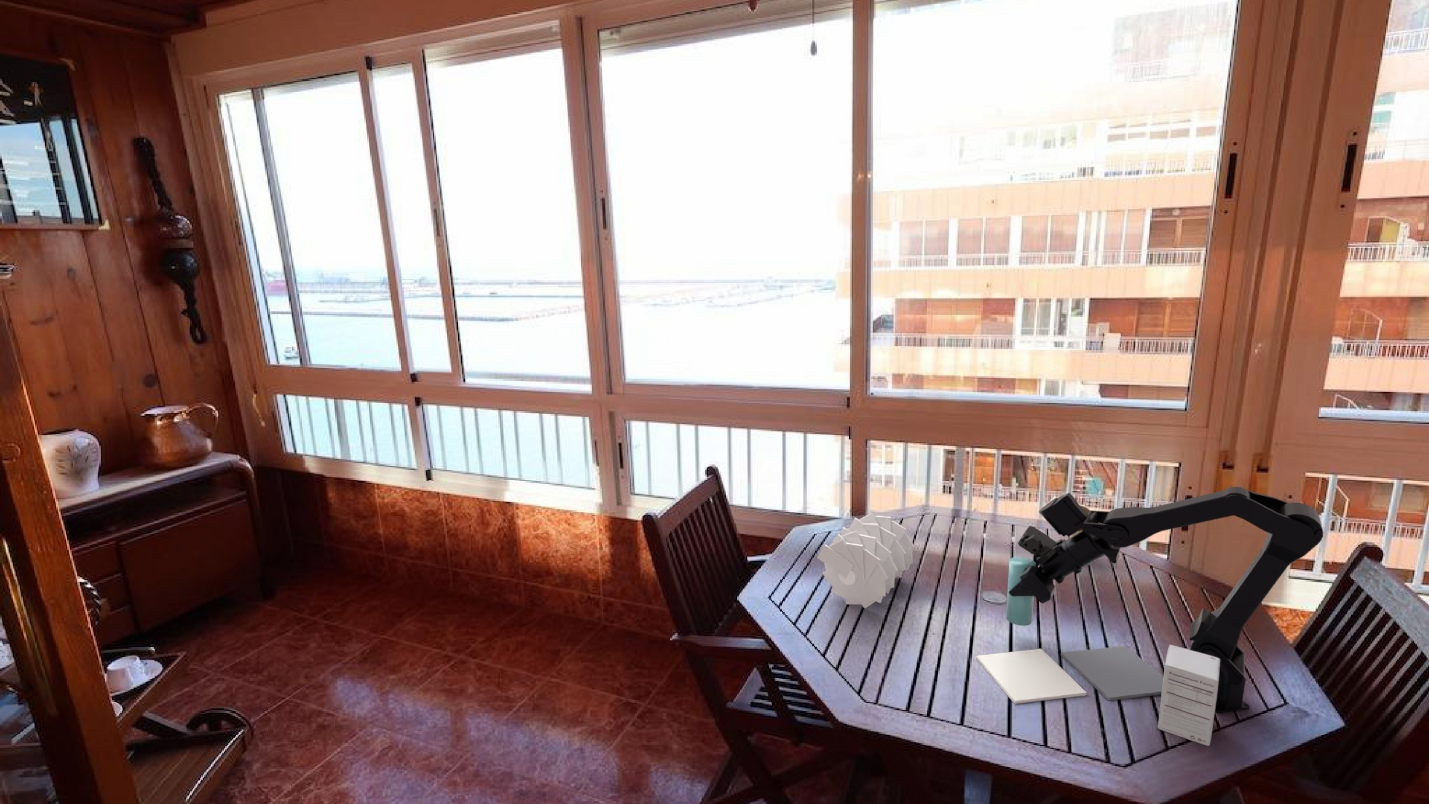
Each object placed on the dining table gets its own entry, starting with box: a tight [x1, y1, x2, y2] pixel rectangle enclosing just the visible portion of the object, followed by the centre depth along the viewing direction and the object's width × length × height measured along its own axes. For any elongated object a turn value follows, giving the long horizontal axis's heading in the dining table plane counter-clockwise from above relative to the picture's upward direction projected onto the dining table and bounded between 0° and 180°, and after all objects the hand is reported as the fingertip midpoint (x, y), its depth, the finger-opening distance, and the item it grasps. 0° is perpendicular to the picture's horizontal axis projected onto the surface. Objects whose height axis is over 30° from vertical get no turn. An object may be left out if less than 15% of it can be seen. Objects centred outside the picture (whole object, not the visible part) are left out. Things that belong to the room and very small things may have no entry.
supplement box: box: [1157, 644, 1220, 747], centre depth 112 cm, size 7×7×13 cm
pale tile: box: [975, 648, 1087, 704], centre depth 128 cm, size 14×14×1 cm
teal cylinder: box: [1005, 556, 1036, 627], centre depth 137 cm, size 5×5×13 cm
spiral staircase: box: [816, 512, 915, 609], centre depth 161 cm, size 18×18×25 cm
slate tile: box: [1060, 645, 1164, 701], centre depth 127 cm, size 14×14×1 cm
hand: (1013, 588), depth 138 cm, fingers closed on teal cylinder, 5 cm apart
